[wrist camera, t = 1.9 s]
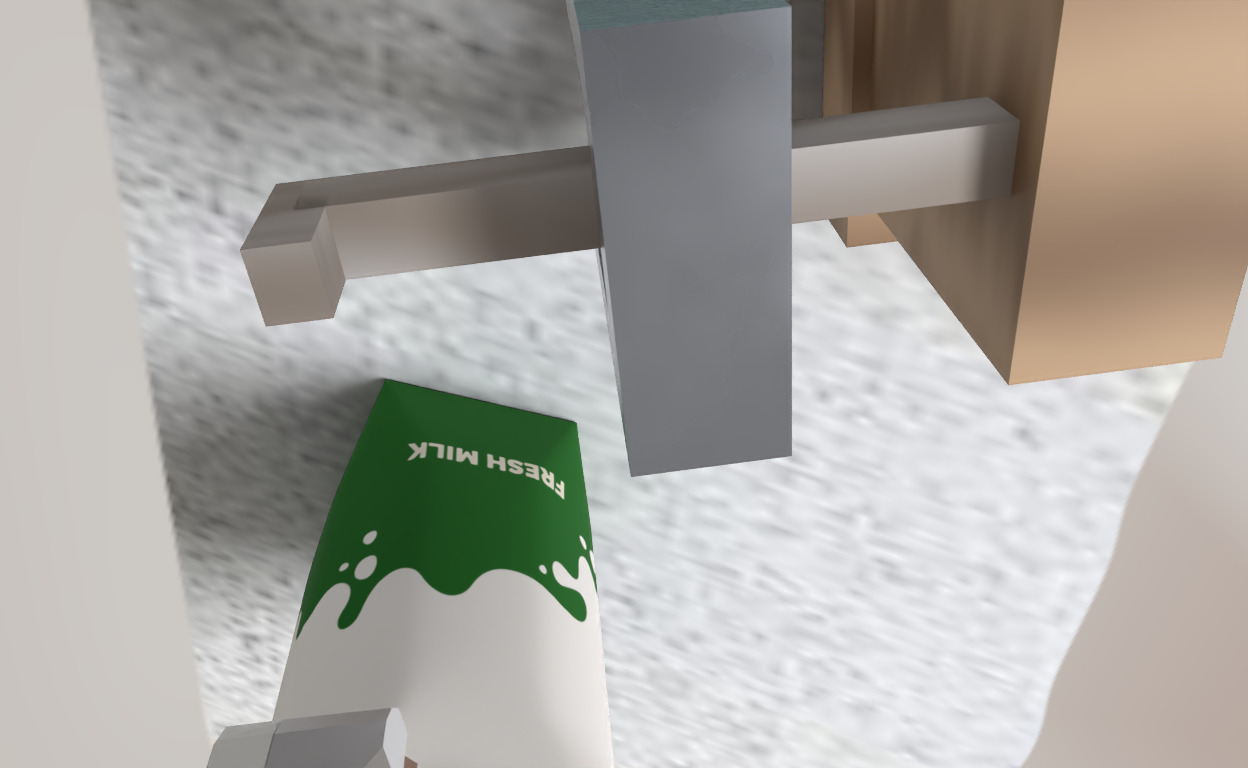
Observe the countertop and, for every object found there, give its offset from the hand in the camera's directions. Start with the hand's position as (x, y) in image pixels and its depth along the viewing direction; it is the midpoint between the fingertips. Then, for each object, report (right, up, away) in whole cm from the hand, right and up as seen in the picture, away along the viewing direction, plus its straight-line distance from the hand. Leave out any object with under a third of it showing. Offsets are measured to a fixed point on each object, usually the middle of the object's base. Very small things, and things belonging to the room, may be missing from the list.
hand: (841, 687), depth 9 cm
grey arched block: (-2, +11, +16) cm, 19 cm away
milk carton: (-8, -1, +28) cm, 29 cm away
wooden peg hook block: (0, +13, +19) cm, 23 cm away
